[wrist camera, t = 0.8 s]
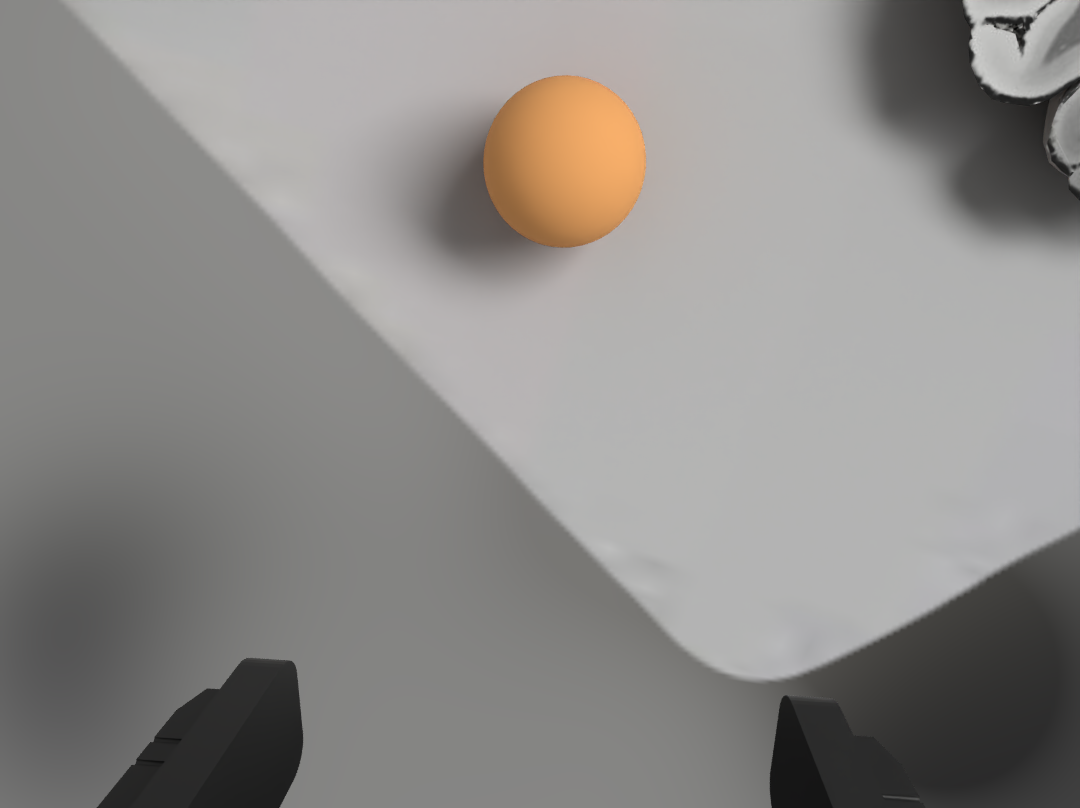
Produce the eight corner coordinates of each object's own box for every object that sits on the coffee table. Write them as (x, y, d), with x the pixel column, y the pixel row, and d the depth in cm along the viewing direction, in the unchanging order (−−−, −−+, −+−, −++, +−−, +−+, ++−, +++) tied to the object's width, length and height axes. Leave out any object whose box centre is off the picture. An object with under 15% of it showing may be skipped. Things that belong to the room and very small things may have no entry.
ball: (496, 87, 26) (470, 59, 20) (645, 90, 25) (659, 62, 20) (494, 239, 27) (470, 250, 22) (635, 244, 27) (644, 257, 22)
